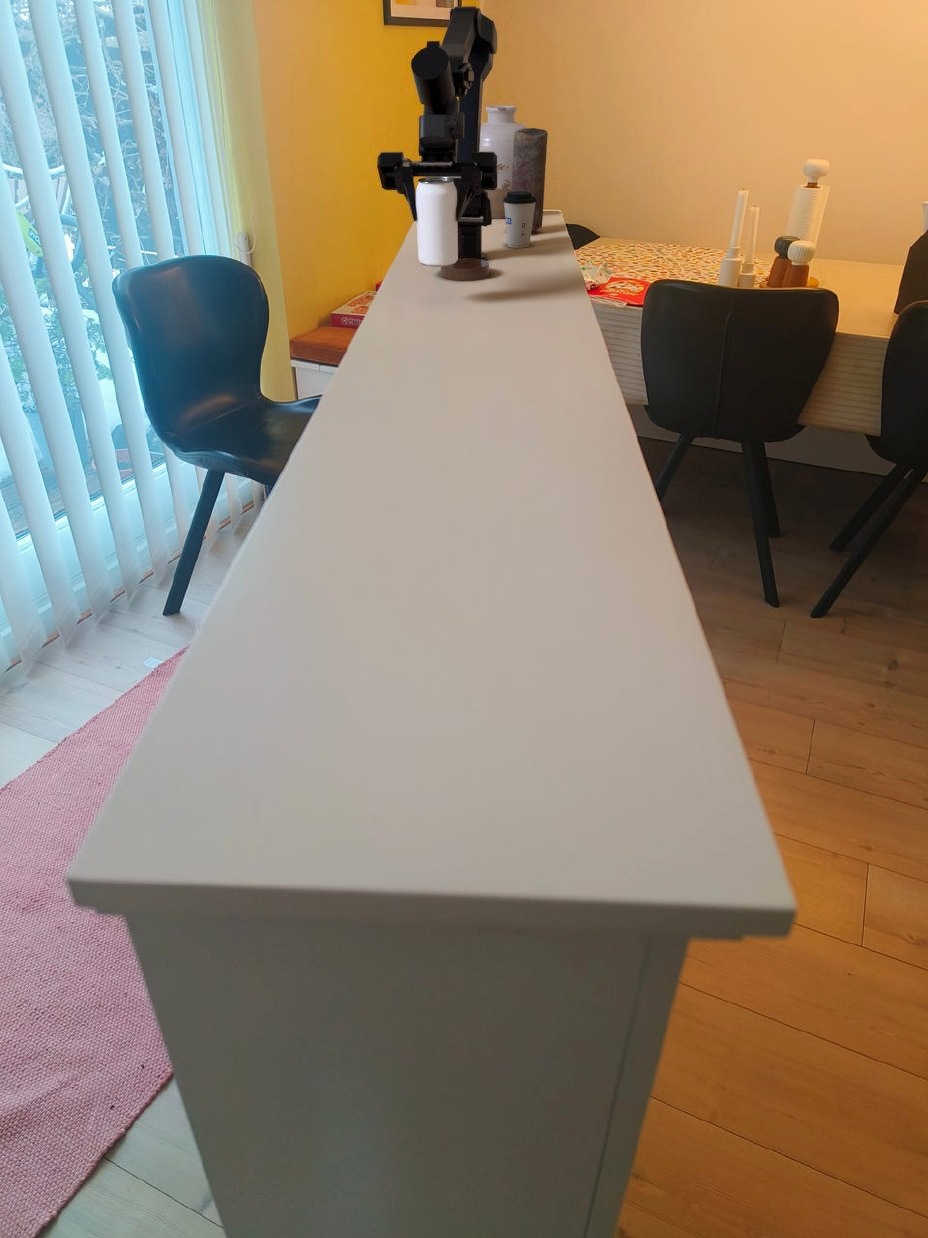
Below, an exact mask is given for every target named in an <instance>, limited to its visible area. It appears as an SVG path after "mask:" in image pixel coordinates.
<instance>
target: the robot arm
mask: <svg viewBox="0 0 928 1238" xmlns="http://www.w3.org/2000/svg"><path fill="white" fill-rule="evenodd" d="M497 51H498V32H497V28H496V25H495V22H494V21H493V19H491V18H489V17H487V16H486V15H484V14H483V13H482V10H481V8H480V7H477V6H475V5H467V6H466V5H464V6H461V5H459V6H457V5H456V6H454V8H453V7H451V8H450V11H449V20H448V22H447V28H446V31H445V33H444V36H443V39H442V42H441V40H427V42H426V46H425V47H423V48H421V49H420V50H418V51H417V52H416V53H415V54H414V55H413V57H412V59H411V61H410V68H411V72H412V76H413V80H414V84H415V85H414V86H415V89H416V93H417V96H418V100H419V103H420V105H423V110H422V111H423V112H422V113H423V114H421V115H419V116H418V149H417V150H418V156H419V157H420V160H411V159H410V158H406V157H405V156H404V152H403V151H381V152H380V153H379V155H378V156H377V159H376V160H377V161H376V167H377V172H378V176H379V182H380V185H381V189H383V190H385V191H396V192H397V194H399V195H403V196H404V198H405V200H406V202H407V204H408V206H409V210H410V213H411V217H412V220H413V222H417V216H416V187H415V177H418V178H419V177H420V178H426V177H448V178H453V179H454V185H455V187H456V190H457V207H456V221H457V223H458V258H475V259H481V260H485V261H486V256H485V254H484V253H483V251H482V250H483V248H482V247H483V244H482V242H483V241H482V240H483V239H482V238H483V236H482V235H483V227H488V226H492V224H493V218H492V211H491V202H490V199H489V198H488V193H487V191H485V190H495V189H496V188H497V180H498V167H497V155H496V154H495V153H494V152H479V149H480V131H481V124H482V112H483V94H484V93H483V92H484V83H485V81H486V79H487V78H488V76H489V74H490V73H491V71H492V70H493V68H494V67H493V66H494V58H495V57H494V56H495V55H497ZM482 216H483V217H482ZM481 217H482V218H481Z"/></svg>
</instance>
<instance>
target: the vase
mask: <svg viewBox="0 0 928 1238" xmlns="http://www.w3.org/2000/svg"><path fill="white" fill-rule="evenodd" d="M517 109H518V107H517V106H515V105H488V106H485V111H486V113H487V121H485V122H483V123H481V131H480V149H479V152H494V153H495V154H496V155H497V167H498V180H497V188H496V189H495V190H485V191H487V193H488V198H489V199H490V202H491V211H492V219H506V218H505V207H504V202H503V200H504V197H507V193H508V192H511V190H512V167H513V147H514V133H515V132H516V131H517V130H520V129H523V128H528V127H527V126H526V125H524V124H521V123H518V122H516V121H515V115H516V111H517ZM481 217H482V218H483V216H481Z"/></svg>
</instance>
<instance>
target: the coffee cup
mask: <svg viewBox="0 0 928 1238" xmlns="http://www.w3.org/2000/svg"><path fill="white" fill-rule="evenodd" d="M503 202H504V207H505V218H504V219H505V227H506V228H505V229H506V240H507V241H506V242H507V247H509V248H514V249H523V248H529V247H530V244H531V237H532V232H531V230H532V223H533V216H534V209H535V202H537V201H536V198H535V197H533V196H532V193H531V192H527V191H513V192H508V193H507V197H504V200H503Z"/></svg>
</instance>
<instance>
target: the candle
mask: <svg viewBox="0 0 928 1238" xmlns="http://www.w3.org/2000/svg"><path fill="white" fill-rule="evenodd" d="M548 136H549V133H548V131H547V130H546V129H544V128H543V129H542V128H536V127H527V128H523V129H520V130H517V131H516V132H515V133H514V147H513V167H512V190H511V192H513V191H527V192H531V193H532V196H533V197H535V198H536V201H537V202H535V209H534V216H533V223H532V230H531V233H533V232H534V231H537V230H539V229H542V228H543V219H544V205H545V182H546V181H545V180H546V166H547V154H548V153H547V151H548V149H547V148H548Z"/></svg>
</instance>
